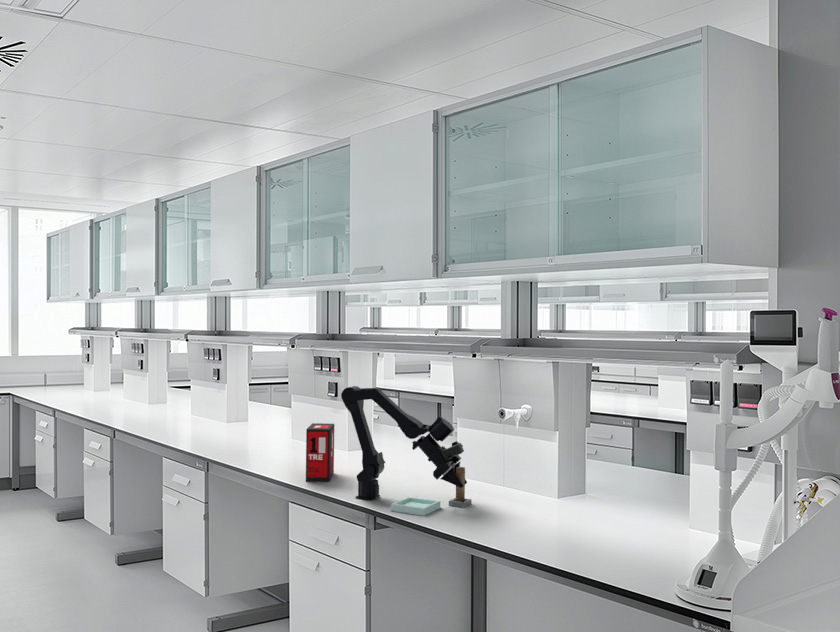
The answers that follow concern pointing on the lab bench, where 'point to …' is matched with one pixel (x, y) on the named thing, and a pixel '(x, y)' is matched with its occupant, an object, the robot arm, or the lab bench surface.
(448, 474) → the robot arm
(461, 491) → the pin
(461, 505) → the tray
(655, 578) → the lab bench surface
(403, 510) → the tray
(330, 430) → the cleaning product box
